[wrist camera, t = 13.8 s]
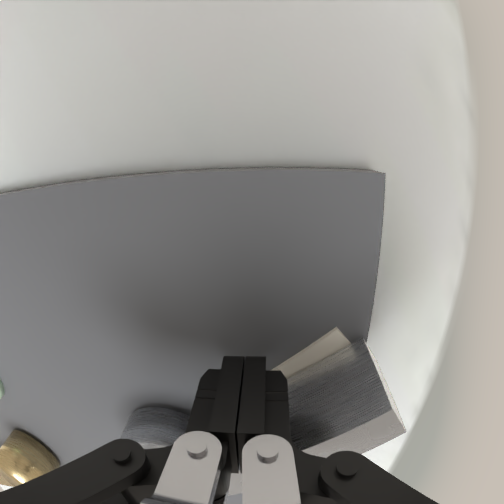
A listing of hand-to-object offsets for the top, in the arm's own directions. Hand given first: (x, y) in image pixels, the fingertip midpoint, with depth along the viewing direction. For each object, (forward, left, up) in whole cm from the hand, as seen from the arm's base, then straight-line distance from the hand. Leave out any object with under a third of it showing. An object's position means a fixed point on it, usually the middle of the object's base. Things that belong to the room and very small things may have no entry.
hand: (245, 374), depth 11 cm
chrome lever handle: (+4, -1, -1) cm, 4 cm away
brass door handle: (+15, -22, -1) cm, 27 cm away
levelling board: (+8, -12, -3) cm, 14 cm away
